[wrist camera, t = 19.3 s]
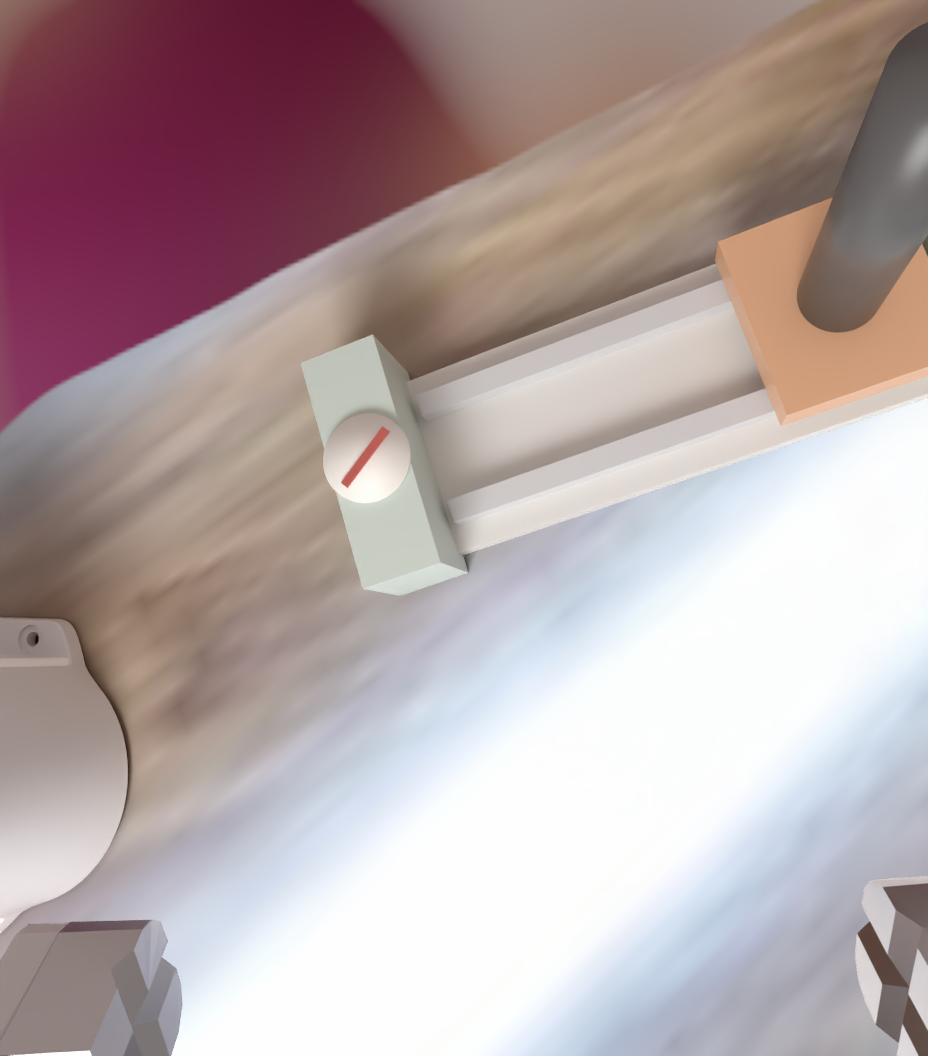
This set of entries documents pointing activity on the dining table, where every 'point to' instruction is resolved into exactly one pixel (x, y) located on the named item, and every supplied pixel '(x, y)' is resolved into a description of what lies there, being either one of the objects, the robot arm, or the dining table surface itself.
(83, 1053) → the robot arm
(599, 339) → the track
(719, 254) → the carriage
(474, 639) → the dining table surface
